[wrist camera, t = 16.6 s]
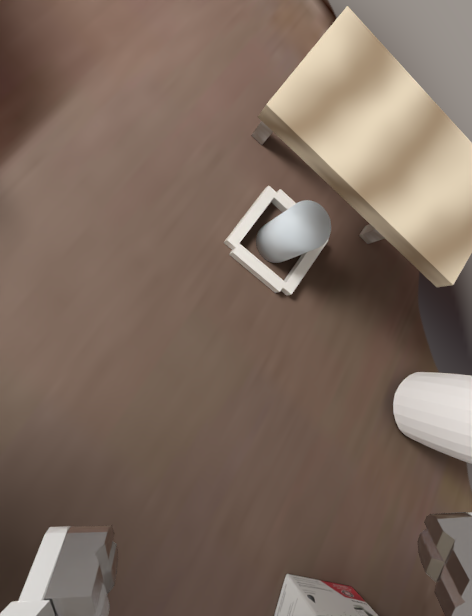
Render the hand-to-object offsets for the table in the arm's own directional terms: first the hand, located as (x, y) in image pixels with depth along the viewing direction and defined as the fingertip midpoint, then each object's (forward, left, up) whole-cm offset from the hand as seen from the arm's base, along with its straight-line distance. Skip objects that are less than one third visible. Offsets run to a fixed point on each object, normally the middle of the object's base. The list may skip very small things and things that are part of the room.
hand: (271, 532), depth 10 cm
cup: (+26, +15, -29) cm, 42 cm away
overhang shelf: (+1, +23, -29) cm, 37 cm away
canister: (+1, +19, -29) cm, 35 cm away
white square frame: (+2, +19, -29) cm, 35 cm away
